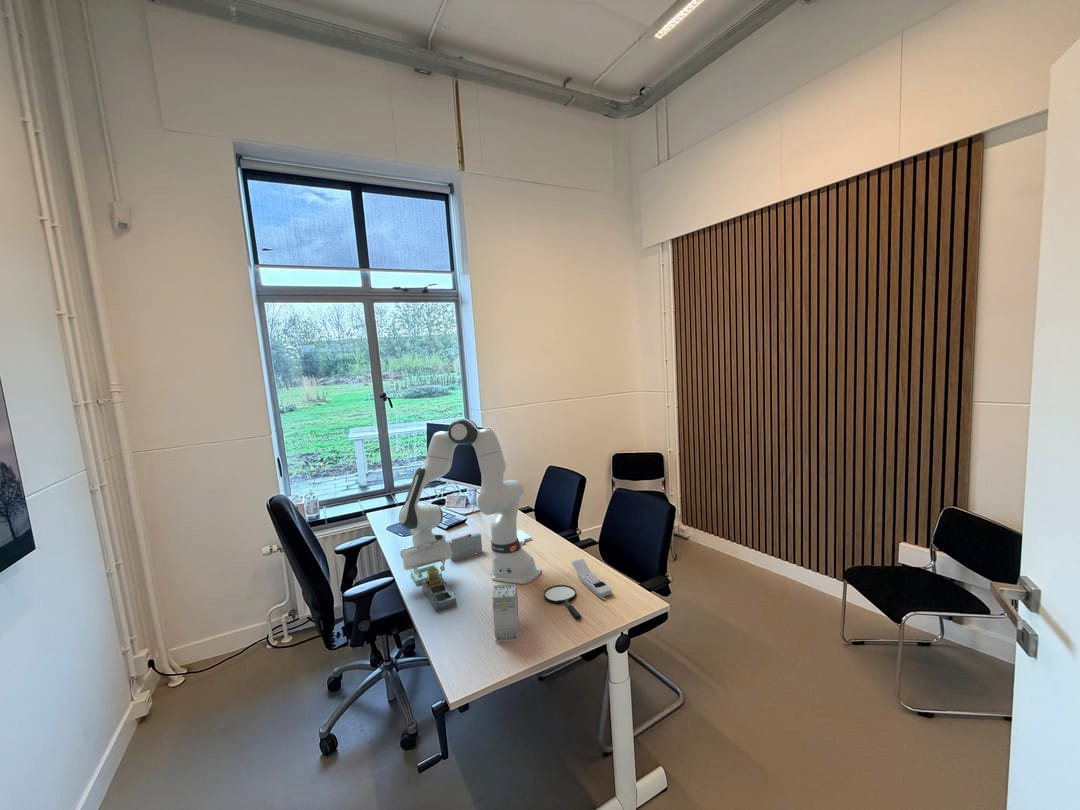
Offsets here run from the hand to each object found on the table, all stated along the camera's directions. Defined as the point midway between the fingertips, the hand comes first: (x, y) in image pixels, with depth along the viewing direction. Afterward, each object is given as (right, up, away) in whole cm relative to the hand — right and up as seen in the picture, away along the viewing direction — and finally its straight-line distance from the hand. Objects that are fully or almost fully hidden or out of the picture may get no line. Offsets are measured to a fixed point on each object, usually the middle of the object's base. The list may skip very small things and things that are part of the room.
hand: (431, 573), depth 179 cm
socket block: (+4, -6, -7) cm, 10 cm away
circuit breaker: (+34, -7, -31) cm, 46 cm away
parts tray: (-5, -5, +11) cm, 13 cm away
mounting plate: (+32, 0, +46) cm, 56 cm away
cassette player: (+9, -3, +30) cm, 31 cm away
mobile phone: (+66, -3, -6) cm, 66 cm away
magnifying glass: (+55, -5, -18) cm, 58 cm away
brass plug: (+1, -6, -1) cm, 6 cm away
